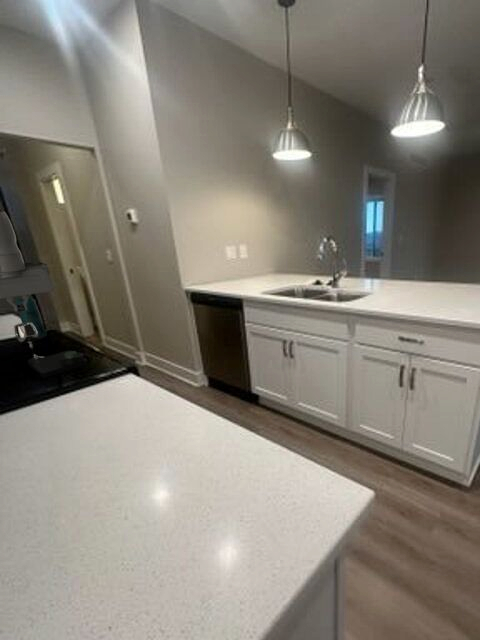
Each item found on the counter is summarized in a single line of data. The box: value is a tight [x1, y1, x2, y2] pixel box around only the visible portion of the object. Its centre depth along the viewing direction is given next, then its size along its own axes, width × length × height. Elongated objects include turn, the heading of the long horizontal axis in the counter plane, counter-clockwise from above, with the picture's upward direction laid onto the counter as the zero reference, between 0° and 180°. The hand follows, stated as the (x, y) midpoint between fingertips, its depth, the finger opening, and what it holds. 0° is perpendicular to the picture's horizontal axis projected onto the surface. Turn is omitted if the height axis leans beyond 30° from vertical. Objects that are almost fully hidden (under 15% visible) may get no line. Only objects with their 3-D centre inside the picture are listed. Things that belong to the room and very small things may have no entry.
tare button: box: [64, 350, 78, 359], centre depth 106 cm, size 3×3×2 cm
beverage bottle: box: [14, 296, 48, 340], centre depth 130 cm, size 6×7×20 cm
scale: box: [27, 350, 89, 379], centre depth 108 cm, size 12×16×3 cm
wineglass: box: [13, 322, 45, 362], centre depth 112 cm, size 6×6×12 cm
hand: (21, 310), depth 106 cm, fingers closed
